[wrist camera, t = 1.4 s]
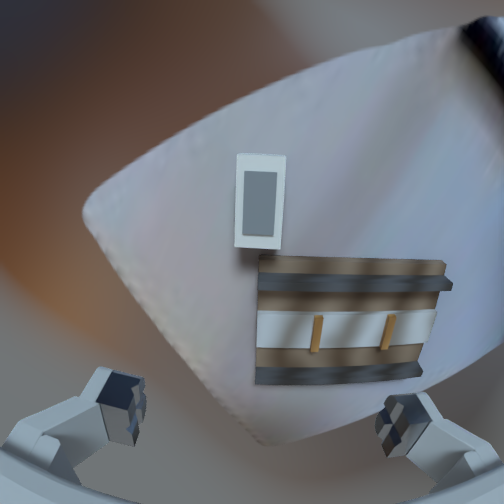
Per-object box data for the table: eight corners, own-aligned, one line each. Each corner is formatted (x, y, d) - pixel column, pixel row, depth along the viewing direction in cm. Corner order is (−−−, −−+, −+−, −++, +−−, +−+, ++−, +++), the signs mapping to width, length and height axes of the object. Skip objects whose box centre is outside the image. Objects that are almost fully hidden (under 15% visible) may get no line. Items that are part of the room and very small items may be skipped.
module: (283, 155, 32) (286, 156, 27) (278, 234, 35) (280, 250, 30) (241, 153, 32) (236, 154, 27) (238, 232, 35) (234, 248, 30)
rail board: (441, 260, 35) (456, 272, 31) (409, 367, 41) (417, 383, 37) (259, 255, 36) (258, 268, 32) (256, 372, 42) (254, 391, 38)
